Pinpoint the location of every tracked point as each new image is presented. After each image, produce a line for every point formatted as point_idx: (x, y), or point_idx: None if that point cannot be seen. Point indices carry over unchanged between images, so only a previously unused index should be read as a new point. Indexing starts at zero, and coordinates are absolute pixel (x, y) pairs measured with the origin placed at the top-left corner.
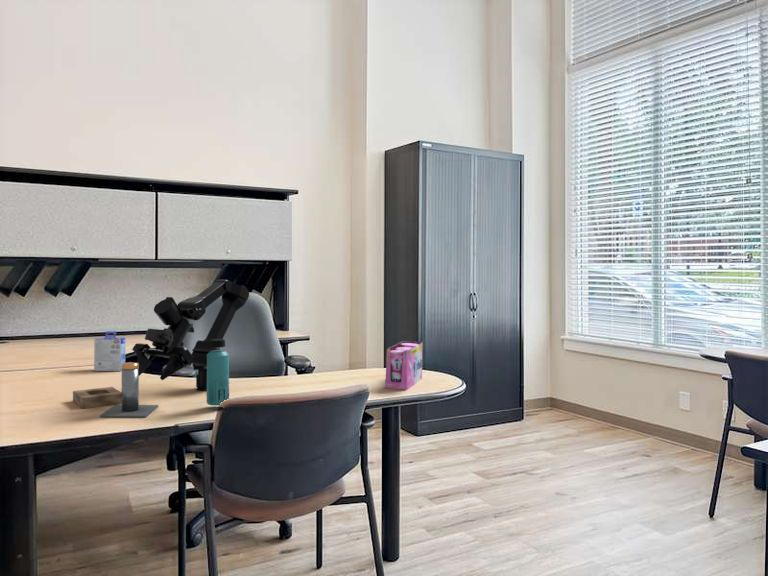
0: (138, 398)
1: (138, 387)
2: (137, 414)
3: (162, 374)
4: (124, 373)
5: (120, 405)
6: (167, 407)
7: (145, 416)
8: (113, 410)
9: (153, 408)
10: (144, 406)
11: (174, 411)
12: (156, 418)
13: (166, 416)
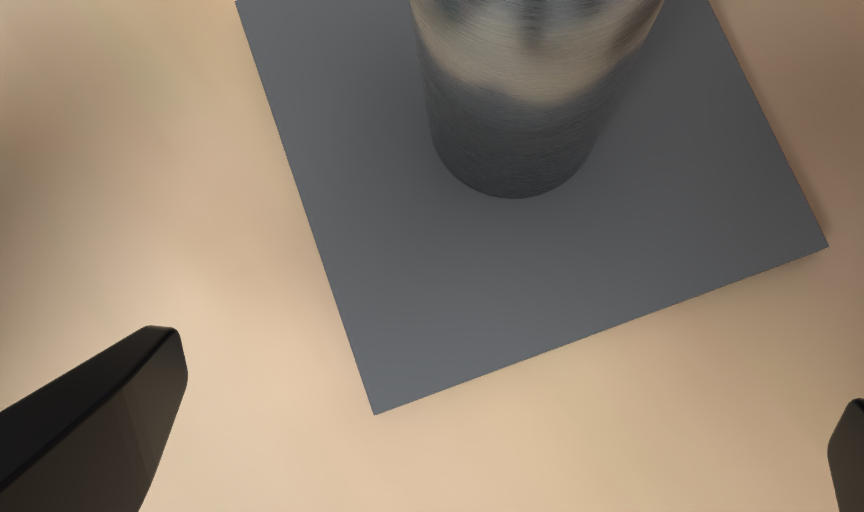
0: (429, 104)
1: (420, 35)
2: (328, 6)
3: (104, 364)
4: None
5: (751, 238)
6: (274, 436)
7: (239, 11)
8: (655, 42)
9: (326, 256)
10: (471, 294)
11: (112, 311)
12: (136, 34)
13: (87, 122)
